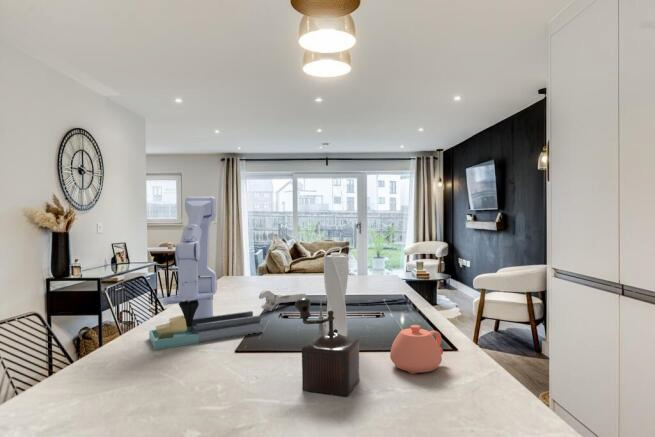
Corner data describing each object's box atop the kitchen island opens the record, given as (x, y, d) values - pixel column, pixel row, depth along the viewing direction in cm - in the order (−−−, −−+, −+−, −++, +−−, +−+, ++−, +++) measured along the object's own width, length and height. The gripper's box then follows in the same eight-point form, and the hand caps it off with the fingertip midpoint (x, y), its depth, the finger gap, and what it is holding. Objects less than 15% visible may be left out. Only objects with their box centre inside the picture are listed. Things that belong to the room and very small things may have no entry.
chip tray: (149, 338, 127) (149, 330, 127) (189, 332, 133) (189, 324, 133) (154, 349, 117) (154, 340, 117) (198, 342, 123) (198, 334, 123)
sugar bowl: (381, 362, 105) (381, 322, 105) (428, 355, 110) (428, 316, 110) (407, 380, 94) (407, 335, 94) (458, 371, 99) (458, 328, 99)
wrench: (305, 306, 183) (261, 312, 157) (302, 306, 184) (257, 312, 158) (307, 287, 183) (262, 291, 158) (303, 287, 184) (258, 290, 159)
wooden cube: (171, 331, 126) (168, 318, 126) (184, 327, 128) (182, 315, 128) (173, 334, 123) (171, 321, 123) (187, 330, 125) (185, 317, 125)
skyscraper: (327, 337, 128) (326, 246, 128) (352, 339, 126) (351, 246, 125) (317, 345, 120) (316, 248, 120) (344, 348, 118) (343, 249, 117)
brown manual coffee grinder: (361, 377, 96) (361, 299, 96) (347, 398, 85) (346, 310, 85) (299, 369, 101) (298, 295, 101) (279, 388, 91) (278, 305, 90)
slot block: (189, 332, 133) (189, 317, 133) (250, 323, 143) (249, 309, 143) (198, 342, 123) (198, 326, 123) (262, 332, 133) (262, 317, 133)
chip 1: (171, 335, 127) (157, 339, 125) (169, 322, 126) (155, 326, 124) (174, 338, 123) (159, 342, 121) (171, 325, 123) (157, 329, 121)
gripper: (165, 285, 120) (165, 332, 120) (215, 281, 127) (216, 325, 127) (161, 282, 126) (162, 326, 126) (209, 278, 133) (210, 320, 134)
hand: (188, 325), depth 127 cm, fingers closed
